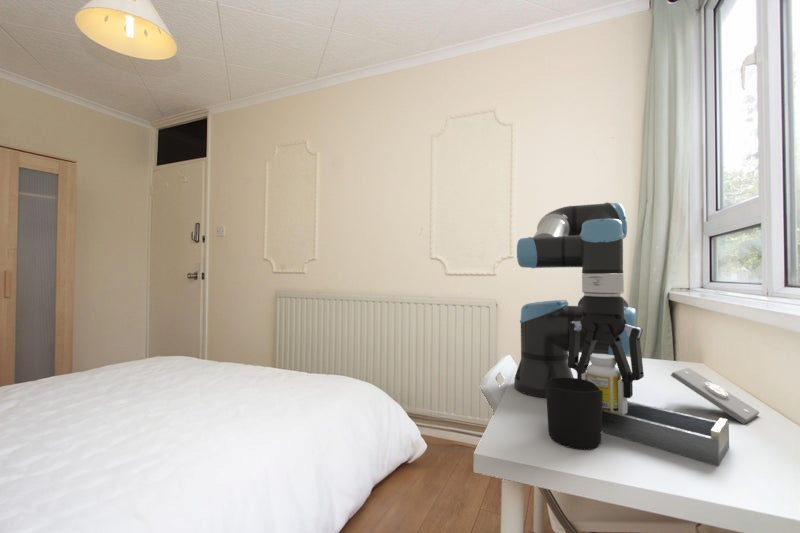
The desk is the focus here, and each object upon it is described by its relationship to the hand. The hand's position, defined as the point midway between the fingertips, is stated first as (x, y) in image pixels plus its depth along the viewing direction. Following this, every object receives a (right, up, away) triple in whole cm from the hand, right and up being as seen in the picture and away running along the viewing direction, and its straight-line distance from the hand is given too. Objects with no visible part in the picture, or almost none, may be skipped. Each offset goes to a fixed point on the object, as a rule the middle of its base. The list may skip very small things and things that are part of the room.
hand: (604, 408), depth 75 cm
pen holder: (-10, -3, -8) cm, 13 cm away
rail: (+5, -3, -6) cm, 9 cm away
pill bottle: (0, -1, 0) cm, 1 cm away
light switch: (+28, -3, +7) cm, 29 cm away
